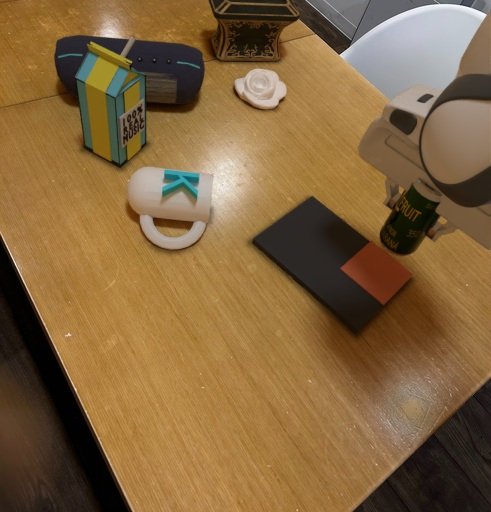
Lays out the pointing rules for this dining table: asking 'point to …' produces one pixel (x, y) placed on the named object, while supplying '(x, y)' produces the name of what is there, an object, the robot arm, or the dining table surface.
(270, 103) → the rose
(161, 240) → the mug
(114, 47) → the portable speaker
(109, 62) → the carton
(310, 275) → the mat
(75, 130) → the dining table surface
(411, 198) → the beer can
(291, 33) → the dining table surface
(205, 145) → the dining table surface
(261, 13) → the decorative box
